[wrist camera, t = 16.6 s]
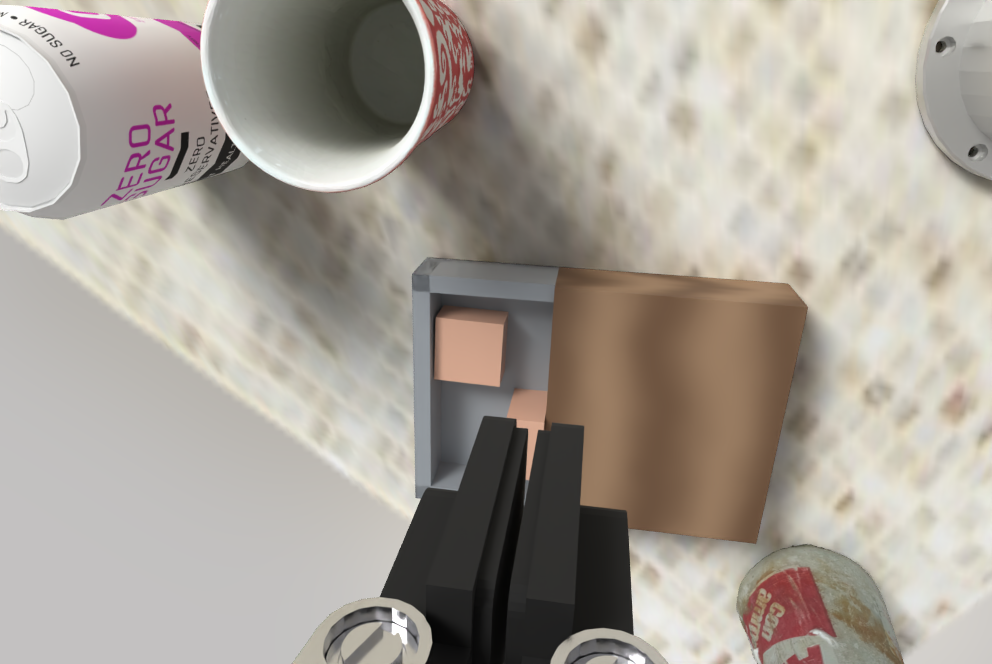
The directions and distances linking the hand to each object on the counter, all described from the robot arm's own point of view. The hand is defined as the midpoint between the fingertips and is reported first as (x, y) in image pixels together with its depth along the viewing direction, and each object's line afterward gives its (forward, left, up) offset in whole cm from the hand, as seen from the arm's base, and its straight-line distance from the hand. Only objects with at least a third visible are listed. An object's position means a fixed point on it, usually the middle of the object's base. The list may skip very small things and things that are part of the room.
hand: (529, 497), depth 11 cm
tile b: (+6, +9, -26) cm, 29 cm away
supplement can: (+22, -4, -29) cm, 37 cm away
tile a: (+1, +14, -26) cm, 30 cm away
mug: (+10, -8, -29) cm, 32 cm away
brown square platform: (-6, +12, -29) cm, 32 cm away
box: (+5, +12, -29) cm, 32 cm away
